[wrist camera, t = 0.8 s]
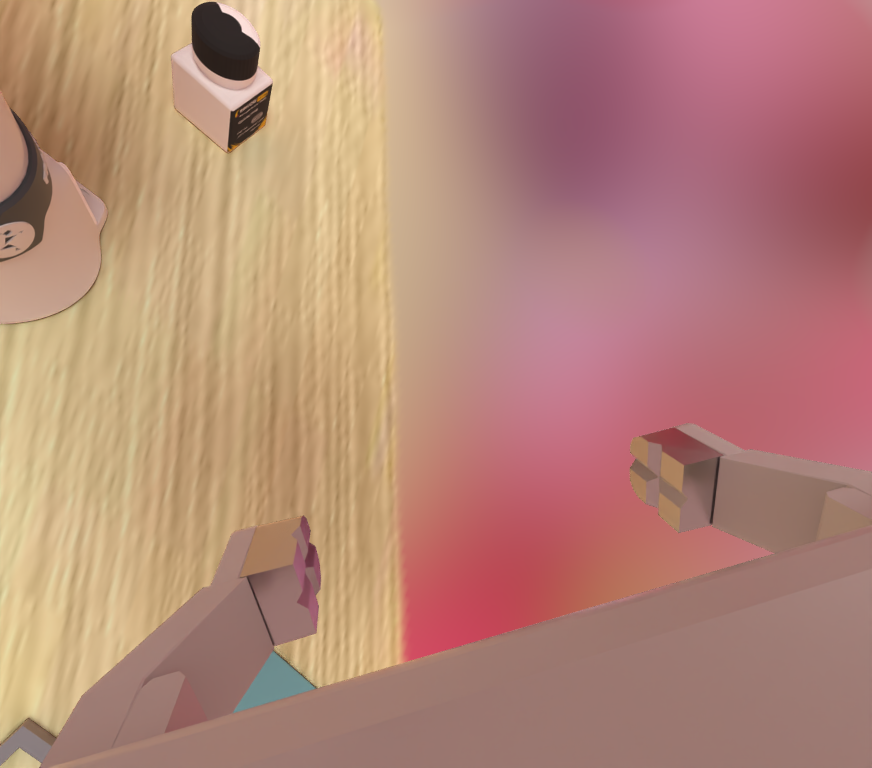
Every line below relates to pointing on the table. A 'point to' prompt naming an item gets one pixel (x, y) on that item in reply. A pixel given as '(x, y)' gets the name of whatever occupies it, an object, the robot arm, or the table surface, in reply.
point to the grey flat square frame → (27, 742)
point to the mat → (274, 684)
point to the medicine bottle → (221, 76)
